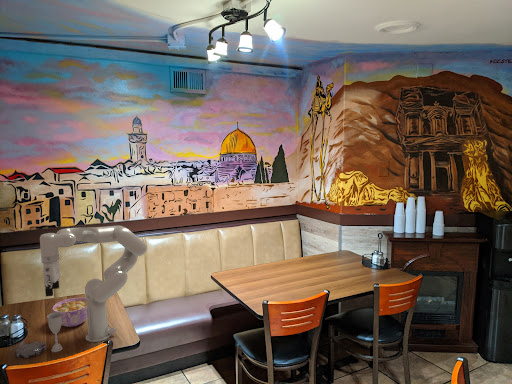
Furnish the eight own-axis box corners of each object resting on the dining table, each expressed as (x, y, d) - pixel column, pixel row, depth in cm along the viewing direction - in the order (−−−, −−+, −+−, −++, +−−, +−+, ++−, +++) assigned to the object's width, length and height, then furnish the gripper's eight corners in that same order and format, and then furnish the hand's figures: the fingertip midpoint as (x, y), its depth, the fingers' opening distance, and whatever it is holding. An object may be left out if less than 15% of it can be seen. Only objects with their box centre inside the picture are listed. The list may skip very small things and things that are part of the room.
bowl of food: (77, 333, 206) (75, 313, 204) (45, 330, 210) (43, 310, 208) (99, 317, 225) (98, 298, 224) (69, 314, 229) (68, 296, 228)
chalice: (47, 349, 190) (44, 315, 188) (61, 344, 195) (59, 311, 193) (52, 354, 185) (49, 319, 183) (66, 349, 190) (64, 315, 188)
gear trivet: (49, 343, 196) (49, 340, 196) (41, 356, 184) (41, 353, 183) (22, 345, 193) (21, 343, 193) (11, 359, 181) (11, 357, 181)
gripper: (53, 263, 177) (55, 298, 179) (63, 253, 193) (65, 285, 195) (35, 264, 175) (38, 299, 177) (47, 254, 192) (49, 286, 194)
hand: (52, 292), depth 186 cm, fingers open, 9 cm apart
